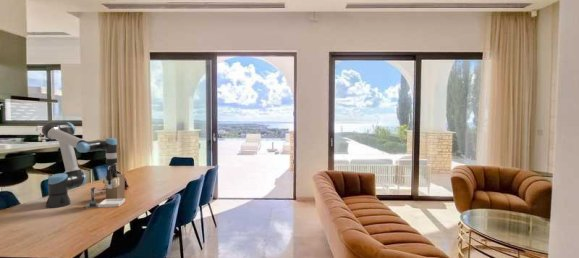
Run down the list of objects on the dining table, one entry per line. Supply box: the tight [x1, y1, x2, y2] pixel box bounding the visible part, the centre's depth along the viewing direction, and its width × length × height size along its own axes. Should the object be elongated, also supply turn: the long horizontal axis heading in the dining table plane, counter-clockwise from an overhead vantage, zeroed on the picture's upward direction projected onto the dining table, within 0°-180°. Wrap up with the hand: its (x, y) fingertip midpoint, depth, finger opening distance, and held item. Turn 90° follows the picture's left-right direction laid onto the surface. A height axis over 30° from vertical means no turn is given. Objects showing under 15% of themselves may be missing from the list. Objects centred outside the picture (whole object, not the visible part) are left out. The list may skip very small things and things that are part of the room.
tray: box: [97, 197, 126, 208], centre depth 239 cm, size 15×15×2 cm
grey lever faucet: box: [83, 186, 100, 209], centre depth 234 cm, size 9×9×14 cm
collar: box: [102, 178, 119, 189], centre depth 238 cm, size 8×10×6 cm
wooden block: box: [105, 173, 126, 199], centre depth 254 cm, size 10×10×20 cm
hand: (112, 187), depth 238 cm, fingers closed on collar, 8 cm apart
